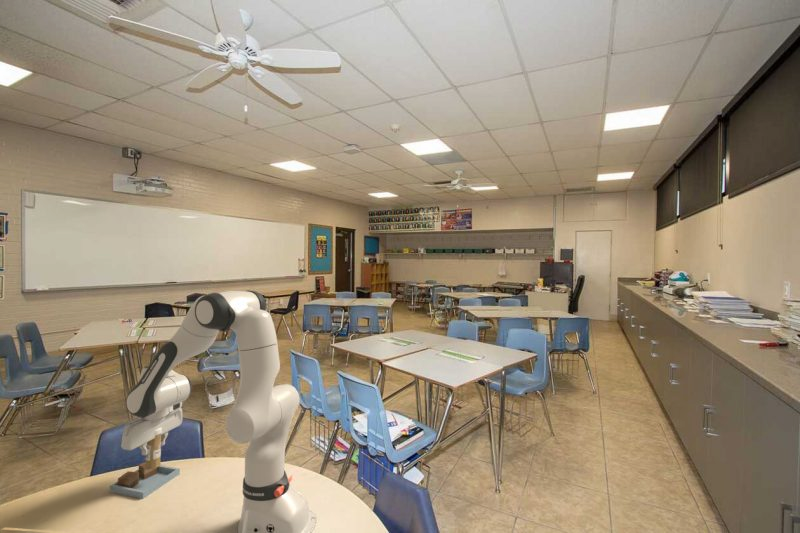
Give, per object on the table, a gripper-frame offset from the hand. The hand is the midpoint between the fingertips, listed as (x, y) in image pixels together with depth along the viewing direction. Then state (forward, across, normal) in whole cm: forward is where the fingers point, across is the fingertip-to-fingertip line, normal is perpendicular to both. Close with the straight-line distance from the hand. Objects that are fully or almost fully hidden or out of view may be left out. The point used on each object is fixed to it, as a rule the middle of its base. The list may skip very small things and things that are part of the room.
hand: (153, 449), depth 121 cm
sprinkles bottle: (+6, 0, 0) cm, 6 cm away
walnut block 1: (+12, -4, +6) cm, 14 cm away
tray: (+12, 0, +3) cm, 13 cm away
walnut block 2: (+12, +4, +6) cm, 14 cm away
